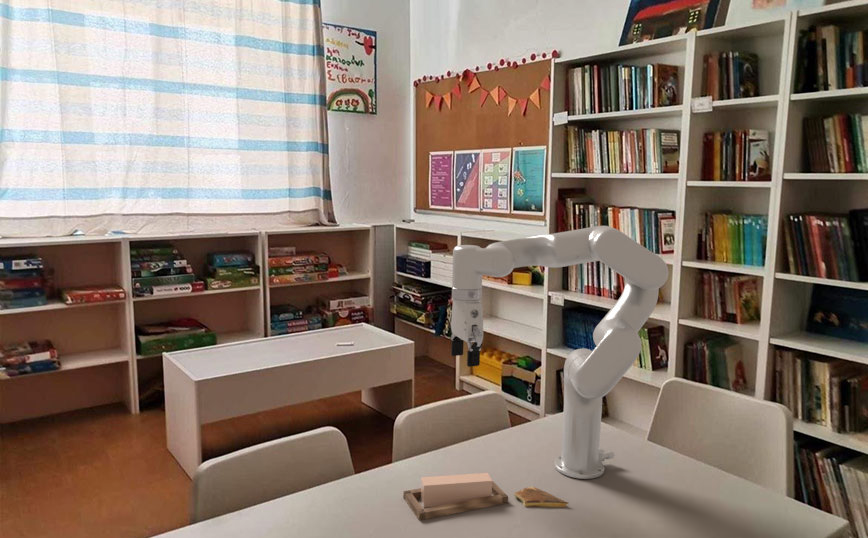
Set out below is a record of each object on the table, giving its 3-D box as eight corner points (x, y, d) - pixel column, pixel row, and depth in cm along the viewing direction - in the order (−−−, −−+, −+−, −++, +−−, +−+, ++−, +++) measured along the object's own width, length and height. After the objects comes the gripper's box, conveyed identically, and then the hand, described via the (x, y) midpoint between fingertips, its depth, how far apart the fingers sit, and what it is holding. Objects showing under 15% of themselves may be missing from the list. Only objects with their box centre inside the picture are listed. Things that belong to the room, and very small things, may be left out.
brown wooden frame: (487, 482, 158) (487, 476, 158) (507, 502, 148) (508, 496, 148) (403, 497, 150) (403, 491, 150) (419, 520, 140) (419, 513, 140)
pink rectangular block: (486, 494, 153) (487, 472, 152) (491, 502, 149) (492, 480, 148) (420, 499, 150) (421, 477, 149) (423, 508, 146) (424, 485, 145)
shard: (568, 508, 147) (568, 501, 147) (547, 520, 142) (548, 512, 142) (531, 491, 155) (531, 484, 155) (510, 501, 150) (511, 494, 150)
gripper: (496, 300, 154) (493, 368, 156) (466, 287, 170) (464, 350, 172) (467, 302, 151) (465, 371, 154) (439, 289, 167) (438, 352, 169)
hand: (465, 360), depth 163 cm, fingers open, 9 cm apart
